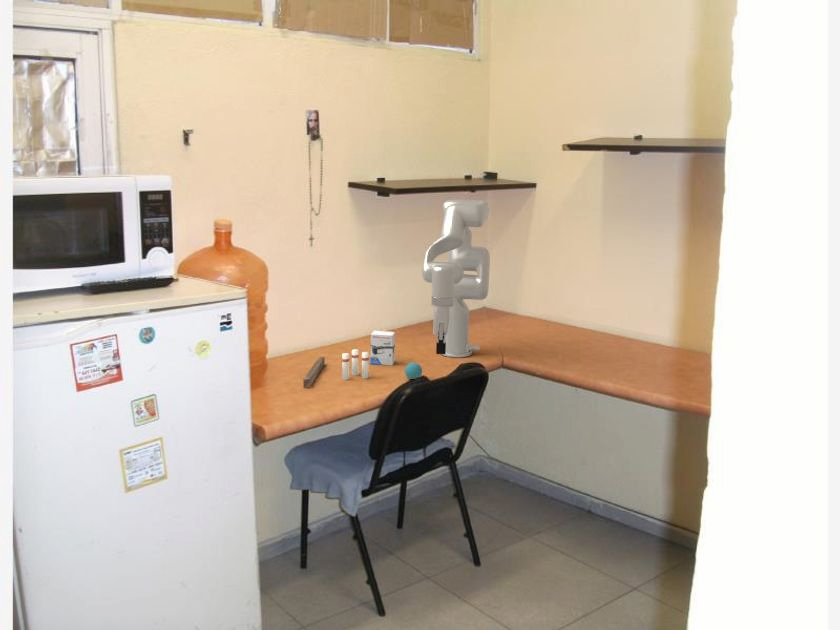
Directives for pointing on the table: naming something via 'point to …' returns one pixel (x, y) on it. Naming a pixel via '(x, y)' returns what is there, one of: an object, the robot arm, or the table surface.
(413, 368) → the ball
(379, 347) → the ink box
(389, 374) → the table surface
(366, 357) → the pin front
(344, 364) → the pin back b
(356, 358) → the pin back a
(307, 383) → the bar
